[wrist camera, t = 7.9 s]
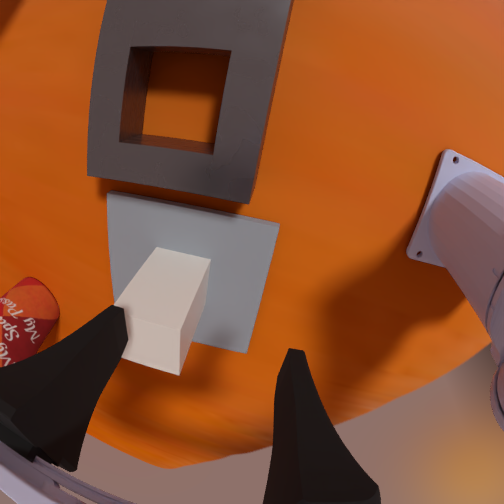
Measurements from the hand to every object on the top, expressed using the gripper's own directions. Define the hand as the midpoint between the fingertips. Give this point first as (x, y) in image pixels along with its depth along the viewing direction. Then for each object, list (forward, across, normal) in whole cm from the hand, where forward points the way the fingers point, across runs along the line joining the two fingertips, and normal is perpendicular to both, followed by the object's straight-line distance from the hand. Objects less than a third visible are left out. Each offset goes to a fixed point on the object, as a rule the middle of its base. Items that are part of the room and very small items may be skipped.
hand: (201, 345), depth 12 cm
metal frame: (+9, +4, -14) cm, 17 cm away
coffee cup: (+9, +21, +12) cm, 26 cm away
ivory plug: (+9, +4, +3) cm, 10 cm away
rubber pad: (+9, +4, +4) cm, 11 cm away
